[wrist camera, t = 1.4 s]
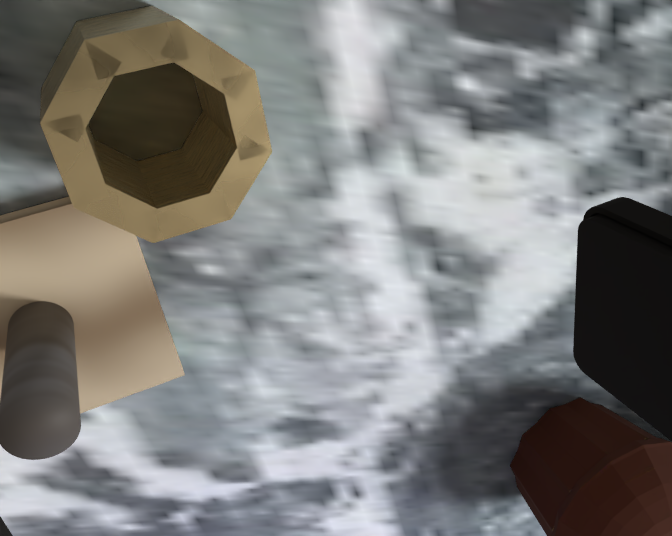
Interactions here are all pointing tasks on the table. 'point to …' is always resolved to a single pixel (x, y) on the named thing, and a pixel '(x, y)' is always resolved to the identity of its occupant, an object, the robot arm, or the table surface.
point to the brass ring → (166, 169)
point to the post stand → (72, 325)
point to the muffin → (594, 474)
